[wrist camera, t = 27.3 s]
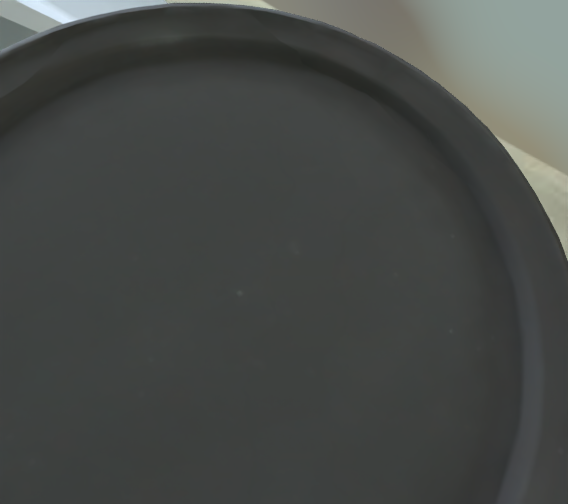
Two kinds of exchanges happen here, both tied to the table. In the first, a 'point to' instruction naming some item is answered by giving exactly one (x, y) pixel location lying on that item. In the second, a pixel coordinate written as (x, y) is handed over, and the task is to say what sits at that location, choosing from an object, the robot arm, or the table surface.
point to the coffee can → (266, 274)
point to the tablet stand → (53, 14)
